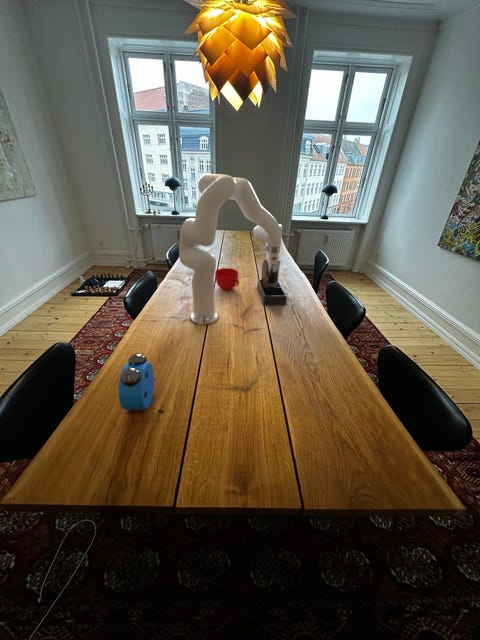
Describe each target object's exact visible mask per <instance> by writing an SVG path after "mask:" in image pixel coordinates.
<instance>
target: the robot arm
mask: <svg viewBox="0 0 480 640" xmlns="http://www.w3.org/2000/svg"><path fill="white" fill-rule="evenodd" d="M197 187H198V191H199V193H200V196H199V198H198V201H197V203H196V209H195V216H194V218H193V217H189V218H188V219H186V220H184V221H183V223H182V224H181V227H180V231H179V246H178V247H179V248H178V258H179V261H180V263H181V265H183V266H184V267H185V268H188V269H190V270H192V271H193V275H192V278H191V291H192V307H193V312H192V313H191V314H190V320H191V321H192V322H193V323H195V324H198V325H200V326H201V325H209V324H213V323H215V322H216V321H218V319H219V314H218V313H217V311H216V310H215V271H216V266H217V259H216V256H215V255H214V254H213V252H210V251H209V250H207V249H204V248H201V247H205V248H206V247H210V246H212V245H214V243H215V240H216V236H217V226H218V217H219V212H220V209H221V207H222V206H223V204H224V203H225V202H226V201H227V200H233V201H235V202H236V204H237V205H238V207H239V210H241V212H242V214H243V216H244V217H245V218H246V219H247V220H248V221H249V222H251V223H253V224H255V225H256V226H255V227H254V228H253V231H252V235H253V238H254V239H256V240H257V241H261V242H265V253H266V260H267V262H268V271H269V272H270V276H269V281H268V283H274V281H275V271H276V272H277V271H278V261H279V254H280V252H281V245H282V236H283V225H282V224H279V223H278V221H277V219H276V218H275V217H274V216H273V215H272V214H271V213H270V212H269V211H268V210H267V209H265V207H264V206H263V205H261V202H260V200H259V198H258V196H257V194H256V192H255V190H254V188H253V186H252V184H251V182H250V181H249V180H248V179H247V178H244V177H232V176H231V175H229V174H222V173H205V174H203V175H202V176H200V177H199V179H198V183H197ZM200 246H201V247H200ZM271 269H272V271H271ZM271 272H272V273H271Z"/></svg>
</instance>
